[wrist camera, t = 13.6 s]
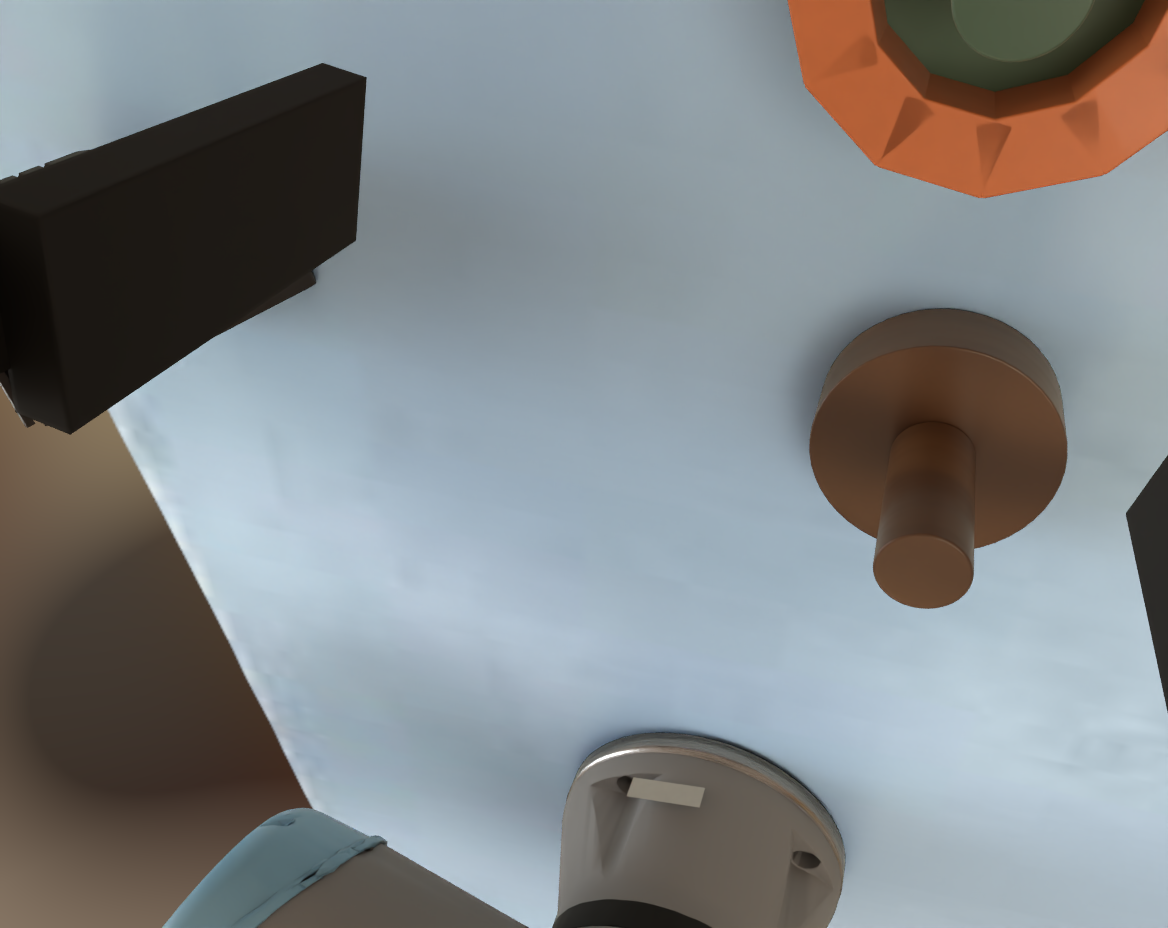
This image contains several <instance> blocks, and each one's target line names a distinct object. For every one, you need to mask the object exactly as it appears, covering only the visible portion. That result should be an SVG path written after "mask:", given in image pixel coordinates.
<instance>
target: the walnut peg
mask: <svg viewBox="0 0 1168 928" xmlns="http://www.w3.org/2000/svg"><path fill="white" fill-rule="evenodd" d="M809 453H810V459H811V466H812V469H813V472H814V475H815V478H816V480H817V482H818V485H819V487H820V489H821V491H822V492H823V494H824V495H825V497H826V498H827V500H828V501H829V502H830V504H831V505H832V506H833V507H834V508H835V509H836V511H837V512H838V513H839V514H841V515H842V516H843V517H844V518H845V519H846V520H847V521H848V522H850V523H851V524H853V525H854V526H855V527H857V528H858V529H860V530H861V531H863V532H865V533H867V534H868V535H870V536H872V537H874V538H876V539H877V542H876V548H875V555H874V561H873V572H874V576H875V579H876V581H877V583H878V585H879V586H880V588H881V589H882V590H883V591H884V592H885V593H886V594H887V595H888V596H890V597H891V598H892V599H894V600H896V601H898V602H900V603H902V604H904V605H907V606H911V607H915V608H925V609H930V608H939V607H943V606H947V605H949V604H952V603H954V602H955V601H957V600H959V599H960V598H961V597H962V596H963V595H964V594H965V593H966V592H967V591H968V589H969V588H970V586H971V584H972V581H973V575H974V549H975V548H980V547H983V546H986V545H989V544H993V543H996V542H998V541H1000V540H1002V539H1005V538H1007V537H1009V536H1011V535H1013V534H1014V533H1016V532H1018V531H1019V530H1021V529H1023V528H1024V527H1025V526H1027V525H1028V524H1029V523H1030V522H1032V521H1033V520H1034V519H1035V518H1036V517H1037V516H1038V515H1039V514H1040V513H1041V512H1042V511H1043V510H1044V509H1045V508H1046V507H1047V505H1048V504H1049V503H1050V501H1051V500H1052V499H1053V497H1054V496H1055V494H1056V492H1057V490H1058V488H1059V486H1060V484H1061V481H1062V479H1063V476H1064V473H1065V468H1066V462H1067V437H1066V428H1065V420H1064V412H1063V404H1062V397H1061V391H1060V386H1059V384H1058V381H1057V378H1056V375H1055V373H1054V371H1053V369H1052V367H1051V366H1050V364H1049V362H1048V360H1047V359H1046V358H1045V357H1044V355H1043V354H1042V353H1041V351H1040V350H1039V349H1038V348H1037V347H1036V346H1035V345H1034V344H1033V343H1032V342H1031V341H1030V340H1029V339H1028V338H1026V337H1025V336H1023V335H1022V334H1021V333H1019V332H1018V331H1017V330H1015V329H1013V328H1012V327H1010V326H1008V325H1006V324H1004V323H1002V322H1000V321H998V320H995V319H993V318H990V317H988V316H985V315H981V314H977V313H973V312H969V311H962V310H955V309H930V310H919V311H914V312H910V313H905V314H901V315H898V316H895V317H892V318H889V319H887V320H885V321H883V322H880V323H878V324H876V325H874V326H872V327H871V328H869V329H868V330H866V331H865V332H863V333H861V334H860V335H859V336H858V337H856V338H855V339H854V340H853V341H852V342H850V343H849V344H848V345H847V347H846V348H845V349H844V350H843V351H842V352H841V353H840V354H839V356H838V357H837V359H836V360H835V361H834V363H833V364H832V366H831V368H830V370H829V372H828V374H827V376H826V379H825V382H824V385H823V388H822V392H821V395H820V399H819V402H818V406H817V409H816V413H815V417H814V420H813V424H812V427H811V434H810V444H809Z"/></svg>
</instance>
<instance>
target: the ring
mask: <svg viewBox="0 0 1168 928" xmlns="http://www.w3.org/2000/svg"><path fill="white" fill-rule="evenodd" d="M788 5H789V10H790V16H791V21H792V26H793V31H794V36H795V41H796V46H797V51H798V57H799V62H800V67H801V72H802V77H803V82H804V84H805V87H806V88H807V90H808V91H809V92H810V93H811V94H812V95H813V96H814V97H815V99H816V100H817V101H818V102H819V103H820V104H821V105H822V106H823V108H824V109H825V110H826V111H827V112H828V113H829V114H830V115H831V117H832V118H833V119H834V120H835V121H836V122H837V123H838V124H839V126H840V127H841V128H842V129H843V130H844V131H845V132H846V133H847V135H848V136H849V137H850V138H851V139H852V140H853V141H854V142H855V144H856V145H857V146H858V147H859V148H860V149H861V150H862V151H863V153H864V154H865V155H866V156H867V157H868V158H869V159H870V160H871V162H872V163H873V164H874V165H877V166H878V167H880V168H883V169H887V170H890V171H893V172H896V173H900V174H903V175H906V176H909V177H913V178H916V179H919V180H922V181H926V182H929V183H932V184H935V185H939V186H942V187H945V188H948V189H952V190H955V191H958V192H962V193H965V194H968V195H971V196H975V197H978V198H988V197H993V196H998V195H1003V194H1009V193H1014V192H1019V191H1024V190H1030V189H1035V188H1040V187H1045V186H1050V185H1056V184H1061V183H1066V182H1071V181H1077V180H1082V179H1087V178H1092V177H1097V176H1102V175H1104V174H1107V173H1108V172H1110V171H1111V170H1113V169H1114V168H1116V167H1117V166H1118V165H1120V164H1121V163H1123V162H1124V161H1125V160H1127V159H1128V158H1130V157H1131V156H1132V155H1134V154H1135V153H1137V152H1138V151H1139V150H1141V149H1142V148H1144V147H1145V146H1146V145H1148V144H1149V143H1151V142H1152V141H1154V140H1155V139H1156V138H1158V137H1159V136H1161V135H1162V134H1163V133H1165V132H1166V131H1168V0H1145V1H1144V3H1143V5H1142V7H1141V9H1140V11H1139V13H1138V14H1137V16H1136V18H1135V20H1134V22H1133V23H1132V24H1131V25H1130V26H1128V27H1127V28H1126V29H1125V30H1123V31H1122V32H1121V33H1120V34H1118V35H1117V36H1116V37H1115V38H1113V39H1112V40H1111V41H1110V42H1108V43H1107V44H1106V45H1105V46H1103V47H1102V48H1101V49H1100V50H1098V51H1097V52H1096V53H1095V54H1093V55H1092V56H1091V57H1090V58H1088V59H1087V60H1086V61H1084V62H1083V63H1082V64H1081V65H1079V66H1078V67H1077V68H1076V69H1074V70H1073V71H1072V72H1071V73H1069V74H1068V75H1064V76H1060V77H1056V78H1052V79H1047V80H1043V81H1039V82H1035V83H1030V84H1026V85H1022V86H1018V87H1013V88H1009V89H1005V90H1001V91H996V92H994V91H990V90H987V89H983V88H980V87H976V86H973V85H969V84H966V83H963V82H959V81H956V80H952V79H949V78H945V77H942V76H938V75H935V74H931V73H930V72H929V71H928V70H927V69H926V68H925V66H924V65H923V64H922V63H921V62H920V61H919V59H918V58H917V57H916V56H915V55H914V54H913V52H912V51H911V50H910V49H909V48H908V47H907V45H906V44H905V43H904V42H903V41H902V40H901V38H900V37H899V36H898V35H897V34H896V33H895V31H894V30H893V29H892V28H891V27H890V26H889V24H888V22H887V16H886V9H885V3H884V0H788Z"/></svg>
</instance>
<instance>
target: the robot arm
mask: <svg viewBox="0 0 1168 928" xmlns="http://www.w3.org/2000/svg"><path fill="white" fill-rule="evenodd" d="M366 78H367V77H364V76H361V75H358V74H355V73H352V72H348V71H345V70H342V69H339V68H336V67H333V66H330V65H327V64H324V63H321V64H319V65H316V66H313V67H311V68H308V69H305V70H303V71H300V72H297V73H295V74H292V75H289V76H287V77H284V78H281V79H279V80H276V81H273V82H271V83H268V84H265V85H263V86H260V87H257V88H255V89H252V90H249V91H247V92H244V93H241V94H239V95H236V96H233V97H231V98H228V99H225V100H223V101H220V102H217V103H215V104H212V105H209V106H207V107H204V108H201V109H199V110H196V111H193V112H191V113H188V114H185V115H183V116H180V117H177V118H175V119H172V120H169V121H167V122H164V123H161V124H159V125H156V126H153V127H151V128H148V129H145V130H143V131H140V132H137V133H135V134H132V135H129V136H127V137H124V138H121V139H119V140H116V141H113V142H111V143H108V144H105V145H103V146H100V147H97V148H95V149H92V150H85V151H78V152H74V153H72V154H69V155H66V156H64V157H61V158H58V159H56V160H53V161H50V162H47V163H45V166H44V168H43V167H41V166H37V167H34V168H31V169H29V170H26V171H23V172H21V173H19V176H18V177H15V176H10V177H7V178H4V179H2V180H0V374H1V373H3V372H5V371H7V370H8V374H9V380H10V385H11V390H12V396H13V401H14V406H15V412H16V413H18V414H21V415H23V416H26V417H28V418H31V419H33V420H36V421H38V422H41V423H43V424H46V425H48V426H50V427H53V428H55V429H58V430H60V431H63V432H65V433H68V434H72V433H73V432H75V431H76V430H78V429H79V428H81V427H82V426H84V425H85V424H87V423H88V422H90V421H91V420H92V419H94V418H96V417H97V416H99V415H100V414H101V413H103V412H104V411H106V410H107V409H109V408H110V407H112V406H113V405H115V404H116V403H118V402H119V401H121V400H122V399H124V398H125V397H126V396H128V395H129V394H131V393H132V392H134V391H135V390H137V389H138V388H140V387H141V386H143V385H144V384H146V383H147V382H149V381H150V380H151V379H153V378H154V377H156V376H157V375H159V374H160V373H162V372H163V371H165V370H166V369H168V368H169V367H171V366H172V365H174V364H175V363H176V362H178V361H179V360H181V359H182V358H184V357H185V356H187V355H188V354H190V353H191V352H193V351H194V350H196V349H197V348H199V347H200V346H201V345H203V344H204V343H206V342H207V341H209V340H210V339H212V338H213V337H215V336H216V335H218V334H219V333H221V332H222V331H224V330H225V329H226V328H228V327H229V326H231V325H232V324H234V323H235V322H237V321H238V320H240V319H241V318H243V317H244V316H246V315H247V314H249V313H250V312H251V311H253V310H254V309H256V308H257V307H259V306H260V305H262V304H263V303H265V302H266V301H268V300H269V299H271V298H272V297H274V296H275V295H276V294H278V293H279V292H281V291H282V290H284V289H285V288H287V287H288V286H290V285H291V284H293V283H294V282H296V281H297V280H298V279H300V278H301V277H303V276H304V275H306V274H307V273H309V272H310V271H312V270H313V269H315V268H316V267H318V266H319V265H321V264H322V263H323V262H325V261H326V260H328V259H329V258H331V257H332V256H334V255H335V254H337V253H338V252H340V251H341V250H343V249H344V248H346V247H347V246H348V245H350V244H351V243H353V242H354V241H356V232H357V216H358V201H359V186H360V170H361V155H362V139H363V124H364V109H365V93H366ZM1126 517H1127V522H1128V527H1129V531H1130V536H1131V541H1132V545H1133V550H1134V555H1135V560H1136V564H1137V569H1138V574H1139V579H1140V583H1141V588H1142V593H1143V598H1144V602H1145V607H1146V612H1147V617H1148V621H1149V626H1150V631H1151V635H1152V640H1153V645H1154V650H1155V654H1156V659H1157V664H1158V669H1159V673H1160V678H1161V683H1162V688H1163V692H1164V697H1165V702H1166V707H1167V711H1168V456H1167V457H1166V458H1165V460H1164V461H1163V462H1162V464H1161V465H1160V467H1159V468H1158V469H1157V471H1156V472H1155V474H1154V475H1153V476H1152V478H1151V479H1150V481H1149V482H1148V483H1147V485H1146V486H1145V488H1144V489H1143V490H1142V492H1141V493H1140V495H1139V496H1138V497H1137V499H1136V500H1135V502H1134V503H1133V504H1132V506H1131V507H1130V508H1129V510H1128V511H1127V513H1126ZM844 869H845V851H844V845H843V842H842V838H841V836H840V833H839V831H838V829H837V827H836V825H835V823H834V821H833V820H832V818H831V816H830V815H829V814H828V812H827V811H826V810H825V808H824V807H823V806H822V805H821V803H820V802H819V801H818V800H817V799H816V798H815V797H814V796H813V795H812V794H811V793H810V792H809V791H808V790H807V789H806V788H805V787H804V786H802V785H801V784H800V783H799V782H797V781H796V780H795V779H794V778H792V777H791V776H789V775H788V774H787V773H785V772H784V771H782V770H781V769H779V768H777V767H776V766H774V765H773V764H771V763H769V762H767V761H765V760H763V759H761V758H760V757H758V756H756V755H753V754H751V753H749V752H747V751H744V750H742V749H739V748H737V747H734V746H731V745H729V744H725V743H722V742H719V741H715V740H711V739H707V738H703V737H698V736H692V735H686V734H676V733H645V734H637V735H631V736H627V737H623V738H620V739H617V740H614V741H611V742H609V743H607V744H605V745H603V746H601V747H600V748H598V749H597V750H595V751H594V752H593V753H592V754H590V755H589V756H588V757H587V758H586V759H585V761H584V762H583V763H582V765H581V766H580V768H579V769H578V772H577V774H576V776H575V779H574V781H573V783H572V786H571V788H570V791H569V793H568V796H567V800H566V805H565V809H564V813H563V820H562V837H561V857H560V877H559V897H558V912H557V916H556V919H555V922H554V924H553V927H552V928H827V926H828V925H829V923H830V921H831V919H832V917H833V915H834V913H835V910H836V907H837V904H838V900H839V898H840V895H841V890H842V884H843V877H844ZM162 928H529V927H527V926H525V925H523V924H521V923H520V922H518V921H516V920H514V919H512V918H511V917H509V916H507V915H506V914H504V913H502V912H500V911H499V910H497V909H495V908H493V907H492V906H490V905H488V904H486V903H485V902H483V901H481V900H480V899H478V898H476V897H474V896H473V895H471V894H469V893H467V892H466V891H464V890H462V889H460V888H459V887H457V886H455V885H453V884H452V883H450V882H448V881H447V880H445V879H443V878H441V877H440V876H438V875H436V874H434V873H433V872H431V871H429V870H427V869H426V868H424V867H422V866H421V865H419V864H417V863H415V862H414V861H412V860H410V859H408V858H407V857H405V856H403V855H401V854H400V853H398V852H396V851H394V850H393V849H391V848H389V847H388V846H387V841H386V840H385V839H383V838H382V837H380V836H370V837H369V836H367V835H365V834H363V833H361V832H359V831H357V830H355V829H353V828H351V827H349V826H347V825H346V824H344V823H342V822H340V821H338V820H336V819H334V818H332V817H330V816H328V815H326V814H324V813H322V812H319V811H316V810H313V809H308V808H297V809H292V810H287V811H284V812H282V813H279V814H278V815H275V816H273V817H271V818H270V819H268V820H267V821H265V822H264V823H262V824H261V825H260V826H258V827H257V828H256V829H255V830H253V831H252V832H251V833H250V834H248V835H247V836H246V837H245V838H244V839H243V840H242V841H241V842H239V843H238V845H236V846H235V847H234V848H233V849H232V850H231V851H230V852H229V853H228V854H227V855H226V856H225V857H224V858H223V859H222V860H221V861H220V862H219V863H218V864H217V865H216V866H215V867H214V868H213V869H212V870H211V872H210V873H209V874H208V875H207V876H206V877H205V878H204V879H203V880H202V881H201V882H200V883H199V885H198V886H197V887H196V888H195V889H194V890H193V891H192V892H191V894H190V895H189V896H188V897H187V898H186V899H185V901H184V902H183V903H182V904H181V905H180V906H179V908H178V909H177V910H176V911H175V912H174V914H173V915H172V916H171V917H170V919H169V920H168V921H167V922H166V923H165V925H164V926H163V927H162Z"/></svg>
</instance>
